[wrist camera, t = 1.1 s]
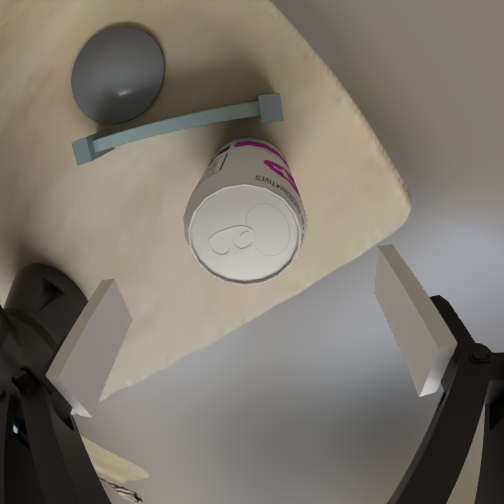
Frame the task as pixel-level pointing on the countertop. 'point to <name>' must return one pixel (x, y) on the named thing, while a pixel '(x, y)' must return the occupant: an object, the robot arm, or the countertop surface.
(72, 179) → the countertop surface
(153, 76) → the coaster
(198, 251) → the supplement can
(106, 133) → the handle
